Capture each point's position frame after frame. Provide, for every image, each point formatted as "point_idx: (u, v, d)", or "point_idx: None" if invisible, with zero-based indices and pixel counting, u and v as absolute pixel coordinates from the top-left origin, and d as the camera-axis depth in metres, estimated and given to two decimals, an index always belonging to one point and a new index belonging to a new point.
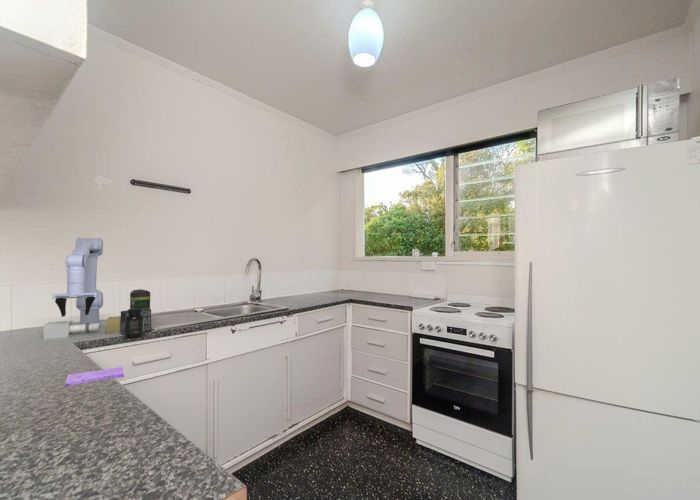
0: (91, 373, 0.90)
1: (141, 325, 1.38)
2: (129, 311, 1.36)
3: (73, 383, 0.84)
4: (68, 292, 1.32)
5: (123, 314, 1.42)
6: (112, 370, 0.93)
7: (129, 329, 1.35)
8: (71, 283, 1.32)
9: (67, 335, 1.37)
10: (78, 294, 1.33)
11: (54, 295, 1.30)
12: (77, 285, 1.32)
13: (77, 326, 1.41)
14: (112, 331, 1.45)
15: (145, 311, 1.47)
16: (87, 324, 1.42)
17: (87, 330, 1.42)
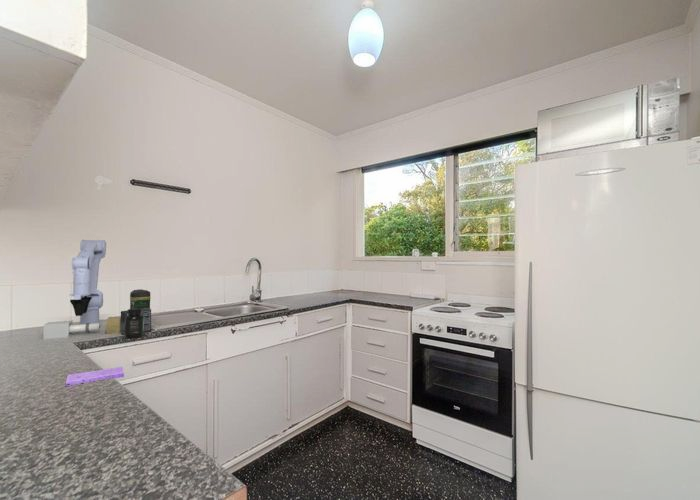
0: (91, 373, 0.90)
1: (141, 325, 1.38)
2: (129, 311, 1.36)
3: (73, 383, 0.84)
4: None
5: (123, 314, 1.42)
6: (112, 370, 0.93)
7: (129, 329, 1.35)
8: None
9: (67, 335, 1.37)
10: (73, 294, 1.40)
11: None
12: (73, 286, 1.40)
13: (77, 326, 1.41)
14: (112, 331, 1.45)
15: (145, 311, 1.47)
16: (87, 324, 1.42)
17: (87, 330, 1.42)
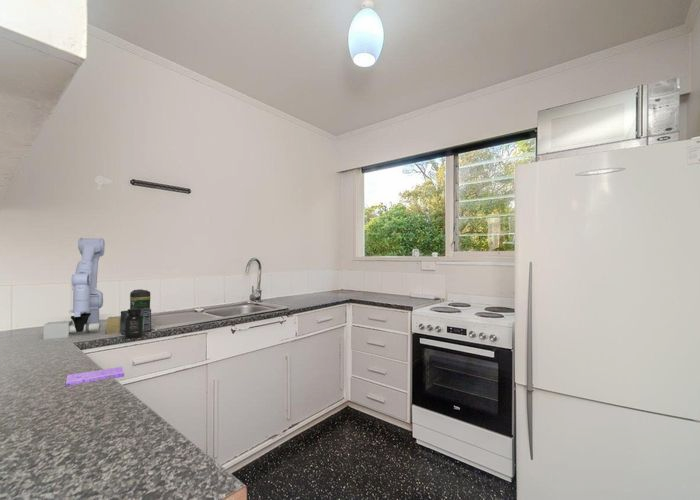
0: (91, 373, 0.90)
1: (141, 325, 1.38)
2: (129, 311, 1.36)
3: (74, 383, 0.84)
4: None
5: (123, 314, 1.42)
6: (112, 370, 0.93)
7: (129, 329, 1.35)
8: None
9: (67, 335, 1.37)
10: (72, 311, 1.40)
11: None
12: (73, 302, 1.40)
13: None
14: (112, 331, 1.45)
15: (145, 311, 1.47)
16: (87, 324, 1.42)
17: (87, 330, 1.42)
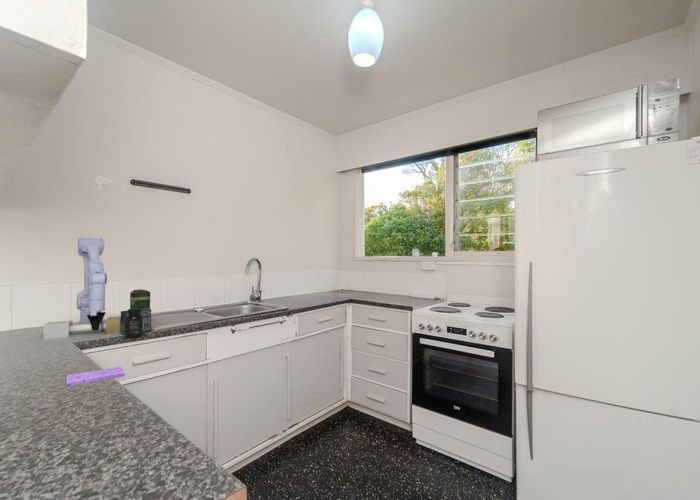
0: (91, 373, 0.90)
1: (141, 325, 1.38)
2: (129, 311, 1.36)
3: (74, 383, 0.84)
4: None
5: (123, 314, 1.42)
6: (112, 370, 0.93)
7: (129, 329, 1.35)
8: None
9: (67, 335, 1.37)
10: (88, 310, 1.42)
11: None
12: (89, 302, 1.43)
13: None
14: (112, 331, 1.45)
15: (145, 311, 1.47)
16: (102, 323, 1.45)
17: (102, 329, 1.44)
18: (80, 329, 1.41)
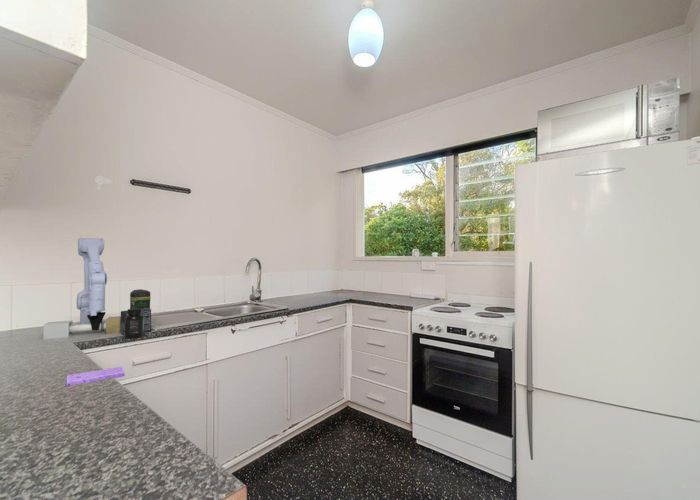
0: (91, 373, 0.90)
1: (141, 325, 1.38)
2: (129, 311, 1.36)
3: (74, 383, 0.84)
4: None
5: (123, 314, 1.42)
6: (111, 370, 0.93)
7: (129, 329, 1.35)
8: None
9: (67, 335, 1.37)
10: (88, 310, 1.42)
11: None
12: (89, 302, 1.43)
13: None
14: (112, 331, 1.45)
15: (145, 311, 1.47)
16: (102, 323, 1.45)
17: (102, 329, 1.44)
18: (80, 329, 1.41)
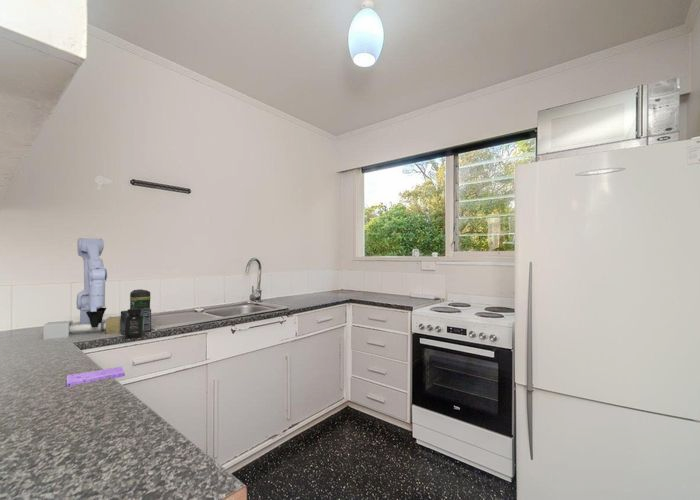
0: (91, 373, 0.90)
1: (141, 325, 1.38)
2: (129, 311, 1.36)
3: (74, 383, 0.84)
4: None
5: (123, 314, 1.42)
6: (111, 370, 0.93)
7: (129, 329, 1.35)
8: None
9: (67, 335, 1.37)
10: (88, 306, 1.42)
11: None
12: (89, 298, 1.43)
13: None
14: (112, 331, 1.45)
15: (145, 311, 1.47)
16: (102, 323, 1.45)
17: (102, 329, 1.44)
18: (80, 329, 1.41)
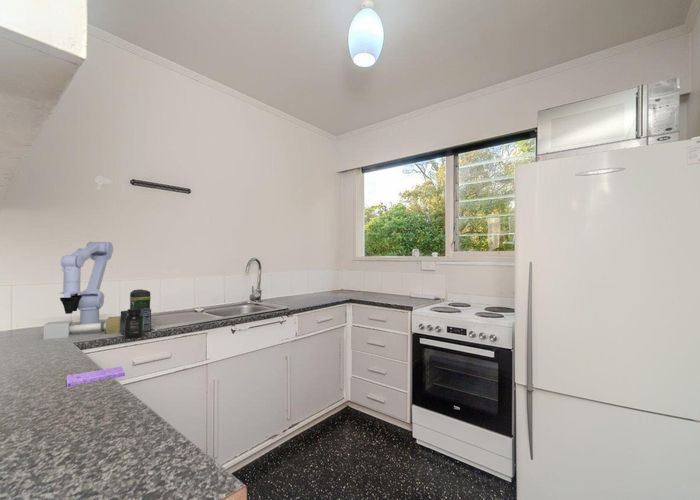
0: (90, 373, 0.90)
1: (141, 325, 1.38)
2: (129, 311, 1.36)
3: (75, 383, 0.84)
4: None
5: (123, 314, 1.42)
6: (111, 370, 0.93)
7: (129, 329, 1.35)
8: None
9: (67, 335, 1.37)
10: None
11: None
12: (63, 284, 1.41)
13: (92, 325, 1.43)
14: (112, 331, 1.45)
15: (145, 311, 1.47)
16: (102, 323, 1.45)
17: (102, 329, 1.44)
18: (80, 329, 1.41)
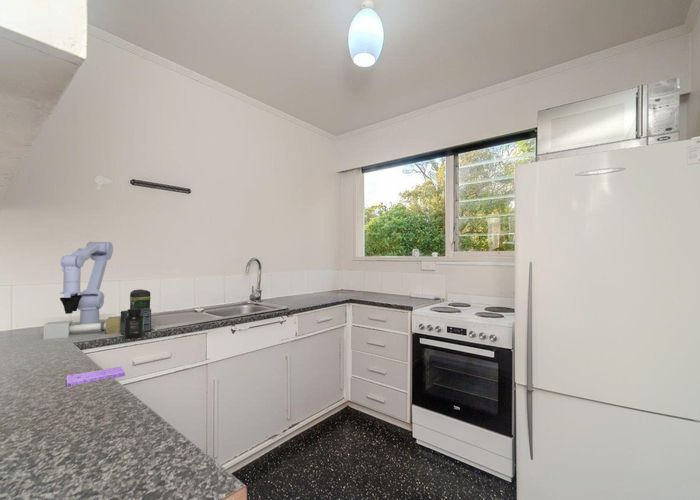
0: (90, 373, 0.90)
1: (141, 325, 1.38)
2: (129, 311, 1.36)
3: (75, 383, 0.84)
4: None
5: (123, 314, 1.42)
6: (111, 370, 0.93)
7: (128, 329, 1.35)
8: None
9: (67, 335, 1.37)
10: None
11: None
12: (63, 284, 1.41)
13: (92, 325, 1.43)
14: (112, 331, 1.45)
15: (145, 311, 1.47)
16: (102, 323, 1.45)
17: (102, 329, 1.44)
18: (80, 329, 1.41)
